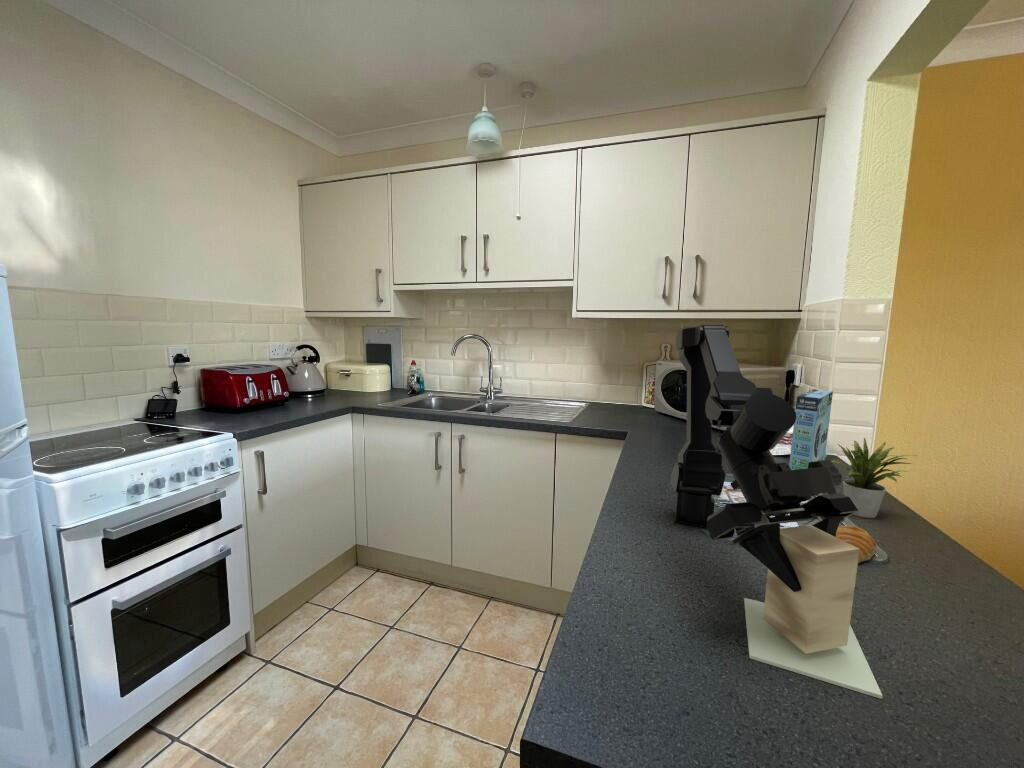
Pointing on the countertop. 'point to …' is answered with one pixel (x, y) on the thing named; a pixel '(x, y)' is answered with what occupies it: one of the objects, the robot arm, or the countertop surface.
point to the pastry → (858, 540)
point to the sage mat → (808, 655)
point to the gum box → (810, 428)
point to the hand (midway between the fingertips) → (819, 587)
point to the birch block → (813, 590)
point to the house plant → (867, 477)
